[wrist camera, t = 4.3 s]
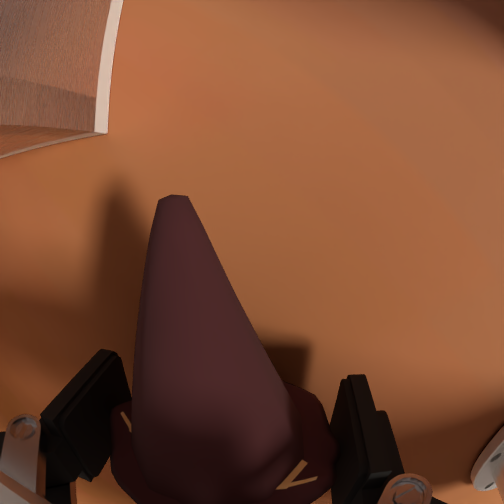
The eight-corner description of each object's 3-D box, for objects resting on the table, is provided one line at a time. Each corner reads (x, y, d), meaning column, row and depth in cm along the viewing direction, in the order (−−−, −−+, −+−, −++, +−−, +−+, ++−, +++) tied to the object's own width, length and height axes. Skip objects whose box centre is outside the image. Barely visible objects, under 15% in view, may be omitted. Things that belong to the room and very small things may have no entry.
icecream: (-50, 245, 4) (145, 534, 9) (431, 359, 1) (288, 587, 6) (145, 179, 10) (205, 449, 15) (379, 175, 7) (330, 480, 12)
